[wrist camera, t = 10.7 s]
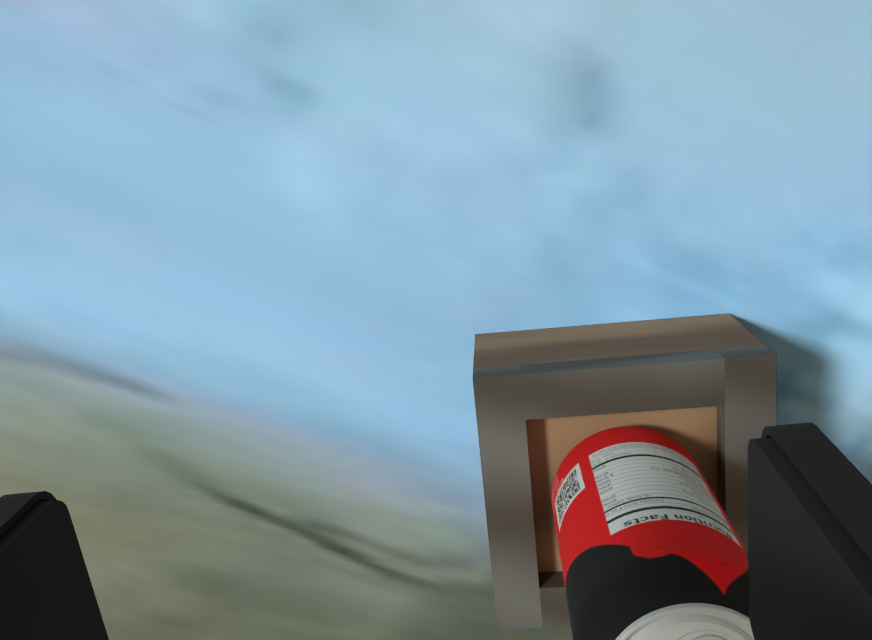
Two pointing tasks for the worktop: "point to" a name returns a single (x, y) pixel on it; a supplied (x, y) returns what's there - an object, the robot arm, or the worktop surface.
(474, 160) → the worktop surface
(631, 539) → the beverage can
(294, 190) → the worktop surface
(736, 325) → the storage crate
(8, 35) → the worktop surface
